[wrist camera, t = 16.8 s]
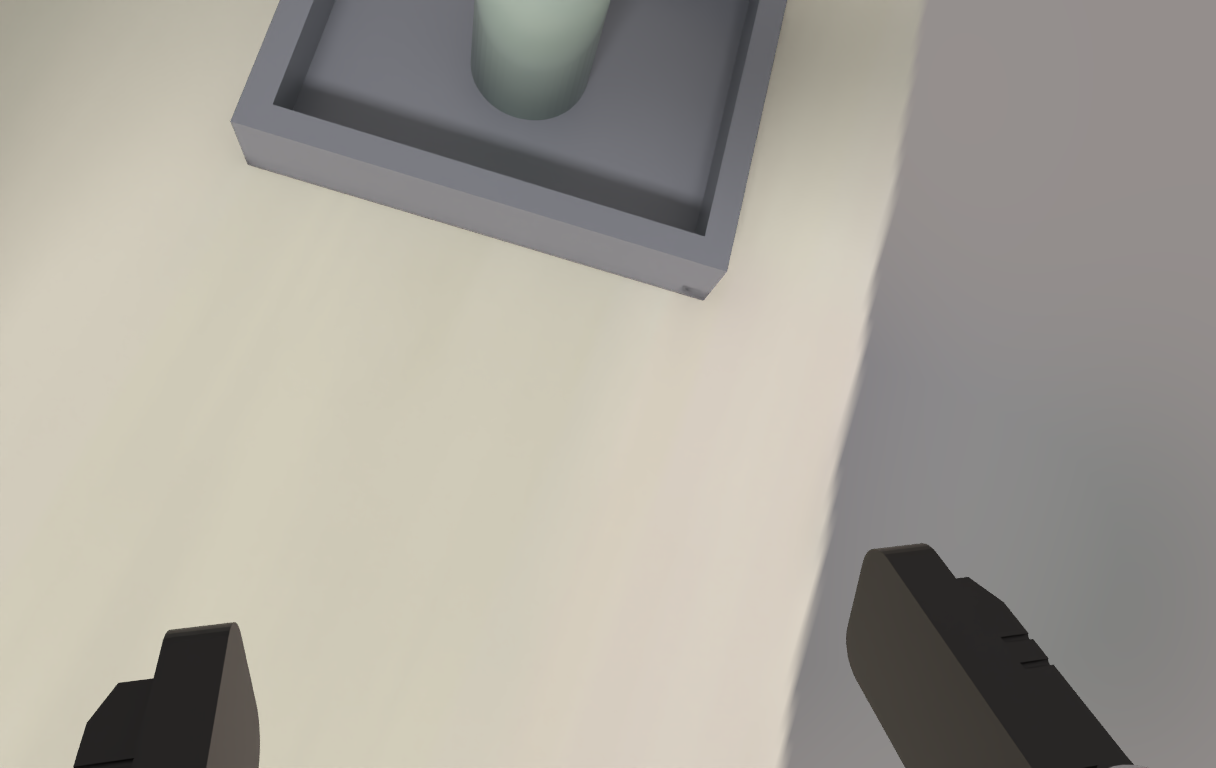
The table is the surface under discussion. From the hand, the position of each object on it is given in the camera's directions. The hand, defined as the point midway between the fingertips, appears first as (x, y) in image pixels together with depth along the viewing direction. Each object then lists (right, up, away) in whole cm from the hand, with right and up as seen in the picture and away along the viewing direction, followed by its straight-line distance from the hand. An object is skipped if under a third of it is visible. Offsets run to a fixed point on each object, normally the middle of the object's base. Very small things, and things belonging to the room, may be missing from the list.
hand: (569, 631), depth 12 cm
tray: (-3, +17, +30) cm, 35 cm away
